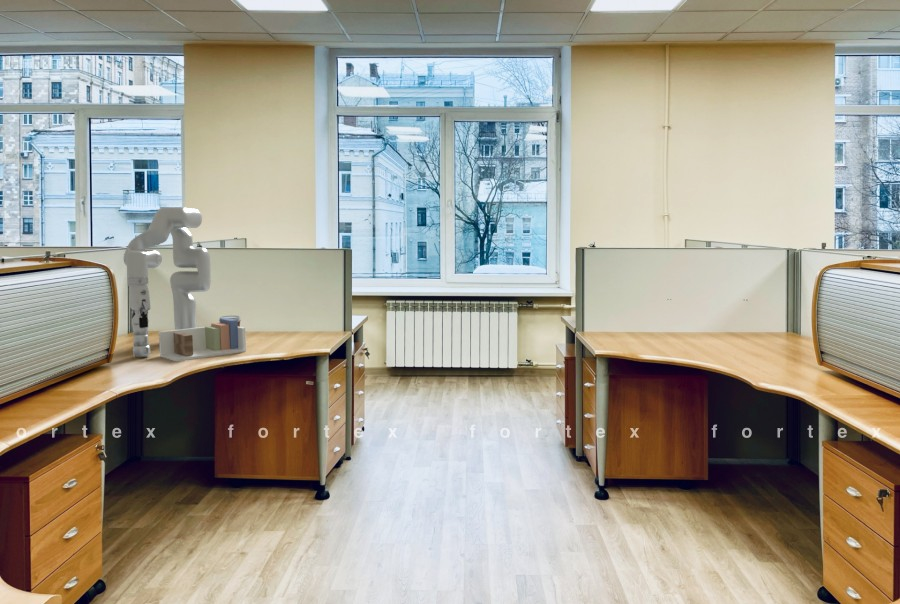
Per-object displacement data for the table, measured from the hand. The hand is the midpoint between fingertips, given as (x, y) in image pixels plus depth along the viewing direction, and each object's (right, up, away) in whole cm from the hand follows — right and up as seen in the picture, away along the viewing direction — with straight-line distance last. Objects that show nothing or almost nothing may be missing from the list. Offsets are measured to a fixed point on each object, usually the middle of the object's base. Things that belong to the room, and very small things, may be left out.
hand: (140, 326), depth 284 cm
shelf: (+22, -12, +8) cm, 27 cm away
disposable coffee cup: (+26, -9, +33) cm, 43 cm away
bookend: (+17, -11, +2) cm, 20 cm away
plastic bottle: (0, -13, +2) cm, 13 cm away
